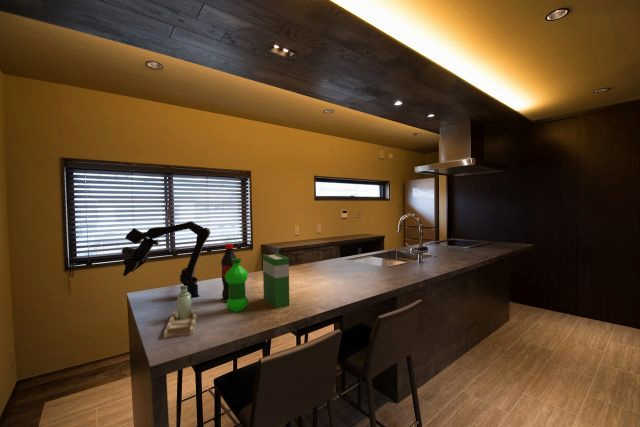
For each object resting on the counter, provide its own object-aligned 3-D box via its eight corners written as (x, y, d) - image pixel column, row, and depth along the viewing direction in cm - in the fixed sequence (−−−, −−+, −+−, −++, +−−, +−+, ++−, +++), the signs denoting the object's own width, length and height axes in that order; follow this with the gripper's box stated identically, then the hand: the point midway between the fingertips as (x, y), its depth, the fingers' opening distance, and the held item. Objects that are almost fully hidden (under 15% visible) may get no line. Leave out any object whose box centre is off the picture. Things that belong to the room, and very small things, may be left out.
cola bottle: (241, 297, 159) (240, 243, 158) (232, 302, 152) (230, 245, 150) (228, 296, 162) (227, 242, 161) (218, 301, 154) (217, 244, 153)
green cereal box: (263, 298, 158) (262, 254, 157) (276, 296, 162) (275, 253, 161) (275, 308, 143) (274, 259, 142) (289, 305, 146) (288, 258, 145)
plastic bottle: (225, 308, 144) (223, 257, 143) (246, 305, 148) (245, 256, 147) (227, 315, 135) (225, 261, 134) (250, 311, 139) (249, 259, 138)
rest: (173, 316, 134) (173, 308, 134) (198, 313, 138) (197, 306, 138) (164, 339, 112) (163, 330, 112) (193, 335, 115) (193, 326, 115)
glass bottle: (189, 313, 136) (188, 283, 136) (193, 317, 132) (192, 286, 131) (176, 316, 133) (175, 286, 132) (180, 320, 128) (179, 289, 128)
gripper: (136, 238, 164) (121, 262, 163) (121, 243, 146) (104, 270, 145) (155, 248, 167) (140, 272, 165) (143, 254, 148) (125, 280, 147)
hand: (127, 273), depth 156 cm, fingers open, 9 cm apart
